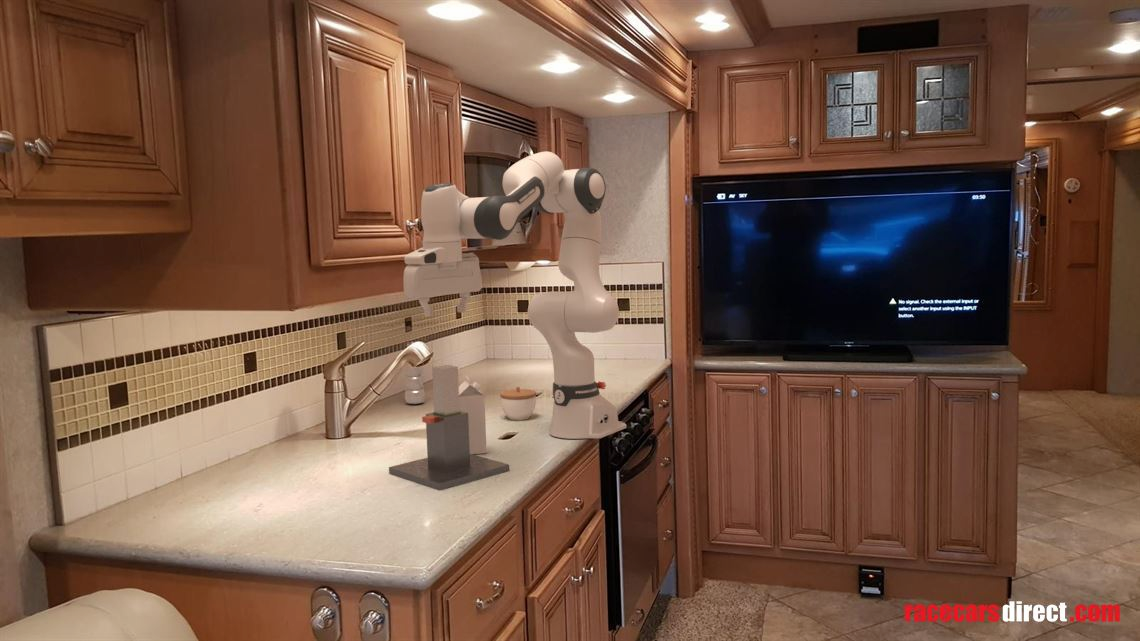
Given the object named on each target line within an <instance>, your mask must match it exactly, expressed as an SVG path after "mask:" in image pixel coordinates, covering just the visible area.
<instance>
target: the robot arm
mask: <svg viewBox="0 0 1140 641" xmlns="http://www.w3.org/2000/svg"><path fill="white" fill-rule="evenodd" d="M564 167H565V166H564V163H563V161H562V159H561V158H560V157H559V156H558V155H557V154H556V153H554V152H551V151H547V150H546V151H540V152H537V153H534V154H530V155H528V156H526V157H523V158H521V159H520V160H518V161H517V162H515V163H514V164H512V165H511V166H510V167H508V169H507V170H505V171H504V173H503V176H502V189H503V192H504V194H505V195H493V196H482V197H469V196H467V195H465V194H464V193H463V192H461V191H459V189H458V188H457V186H456V184H455V183H453V182H444V183H443V182H442V183H436V184H432V185H429V186H426V188H423V192H422V195H421V201H420V202H421V203H420V206H421V207H420V214H421V215H420V216H421V217H420V219H421V225H422V228H423V238H422V247H420V248H418V249H416V250H414V251H412V252H409V253H407V254H405V255H404V264H406V267H405V268H404V271H403V293H404V295H405V296H406V298H407V299H408V298H409V299H418V302H419V305H421V307H422V309H423V316H424V317H425V318H426V317H427V318H429V317H434V315H435V313H434V311H435V310H434V308H431V306H430V305H429V302H430V298H432V297H438V296H449V295H456V294H458V295H459V297H460V302H459V304H456V312H457V313H466V312H467V305H468V302H469V300H470V298H471V293H474V292H475V293H476V292H480V291H481V290H482V288H483V279H482V272H481V268H480V258H479V257H478V255H476V254H475V253H474V252H468V253H465V252H464V253H463V249H462V248H463V245H462V239H463V240H464V239H466V240H467V239H471V240H472V239H474V240H475V239H477V240H479V239H480V240H483V239H486V240H487V239H488V240H495V241H496V240H497V241H500V240H501V241H502V240H504V239H506V238H507V237H509V236H510V235H511V233H512V232H513V231H514V229H515V227H516V226H517V224H518V223H519V222H520V220H522V219H523V217H525V216H526V215H527V214H528V213H529V212H531V211H532V210H533V209H534V208H535V209H536V211H538V212H539V213H541V214H547V215H548V214H549V215H553V214H561V213H562V214H563V216H564V220H565V221H564V226H563V229H562V234H561V238H560V239H561V240H560V241H561V242H560V248H559V253H558V254H559V255H558V262H557V266H558V270H559V272H560V273H561V274H562V276H564V277H565V278H567V279H569V280H570V281H572V282H573V285H574V286H573V290H571V291H552V290H551V291H545V292H541V293H537V294H535V295H533V297H532V298H531V300H530V301H529V303H528V306H527V307H528V308H527V317H528V320H529V322H530V324H531V325H532V326H533V328H535V329H536V330H538V332H539V333H540V334H541V335H542V336H543V338H544V339H545V341H546V343H547V344H548V346H549V349H550V352H551V355H552V363H553V365H552V366H553V380H554V381H553V383H552V395H553V396H552V397H553V399H554V400H553V407H552V419H551V424H550V431H549V435H551V436H553V437H555V438H558V439H568V440H569V439H573V440H575V439H577V440H579V439H580V440H581V439H602V438H604V437H607V436H609V435H612V434H615V433H617V432H619V431H622V430H624V429H627V428H628V426H627V424H626V423H625V422H623V421H619V416H618V410H617V407H616V406H615V405H614V404H613V403H611V402H610V401H609V400H607V399H606V398H605V397H604V396H602V395H601V393H600V390H605V389H606V388H607V387H606V386H607V384H606V382H605V381H598V382H596V381H595V376H596V375H595V357H594V353H593V352H592V351H591V350H590V348H588V347H587V346H585V345H583V343H580V341H579V340H578V338H577V337H576V333H591V334H593V333H600V332H601V333H603V332H606V331H610V330H612V329H613V328H614V327H615V325H617V322H618V319H619V316H620V310H619V305H618V303H617V302H618V301H616V299H615V297H614V296H613V295H612V294H610V293H609V291H607V289H606V287H604V285H603V282H602V280H601V276H600V259H601V249H602V247H601V246H602V240H603V239H602V238H603V237H602V236H603V234H602V233H603V232H602V230H603V227H602V217H601V216H602V215H601V212H600V211H599V210H600V209H601V208H602V204H603V202H604V199H605V195H606V191H607V190H606V189H607V188H606V181H605V179H604V176H603V175H602V173H601V172H600V171H599V170H598V169H595V168H593V167H581V168H573V169H566V170H565V168H564Z"/></svg>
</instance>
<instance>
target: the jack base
mask: <svg viewBox="0 0 1140 641" xmlns="http://www.w3.org/2000/svg"><path fill="white" fill-rule="evenodd" d="M421 420H422V421H421V422H422V423H425V426H426V427H425V428H426V429H425V430H426V431H425V432H426V447H427V448H426V451H427V453H426V454H427V457H424V458H421V459H417V460H413V461H409V462H405V463H401V464H397V465H392V466H389V467H388V473H389V474H390V475H393V476H395V477H399V478H402V479H404V480H405V479H406V480H409V481H411V482H414V483H417V484H420V485H423V486H426V487H430V488H432V489H435V490H438V491H442V490H445V489H450V488H453V487H457V486H460V485H463V484H467V483H470V482H475V481H477V480H481V479H484V478H488V477H491V476H492V477H493V476H496V475H499V474H503V473H506V472H510V464H509V463H506V462H501V461H498V460H494V459H491V458H488V457H483V456H480V455H477V454H470V449H469V423H468V413H466V412H461V411H460V414H455V415H451V416H446V417H443V416H439V415H435V414H434V411H433V412H429V413H425V416H422V417H421Z"/></svg>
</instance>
